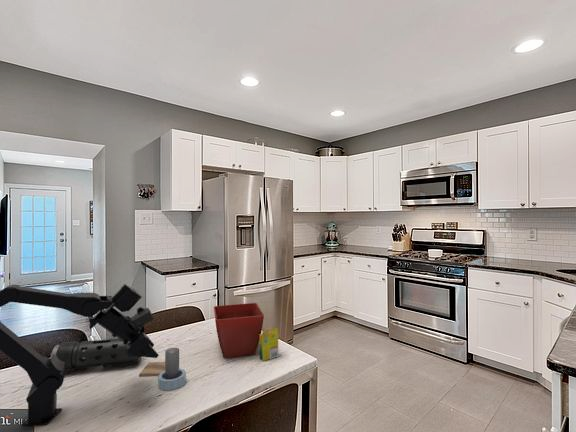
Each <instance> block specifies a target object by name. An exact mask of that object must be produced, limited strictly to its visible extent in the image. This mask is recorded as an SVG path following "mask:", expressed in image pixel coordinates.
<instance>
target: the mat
mask: <svg viewBox="0 0 576 432" xmlns="http://www.w3.org/2000/svg"><path fill="white" fill-rule="evenodd" d="M164 371H165V361H149V362H148V363H147V364H146V365H145V366H144V368H143V369H142V370H141V372H140V373H139V374H138V377H158V376H159V375H160V373H162V372H164Z"/></svg>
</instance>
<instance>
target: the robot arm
mask: <svg viewBox="0 0 576 432" xmlns="http://www.w3.org/2000/svg"><path fill="white" fill-rule="evenodd" d="M142 298H143V296H142V295H141V293H140V292H138V291H137V290H136V289H135V288H132V287H130V285H127V284H126V283H123V285H122V286H121V287H120V288H119V290H117V292H116V293H115V294H113V295H100V294H98V293H96V292H74V293H73V292H72V293H66V292H60V291H55V290H53V291H52V290H46V289H40V288H33V287H27V286H21V285H18V284H10V285H8V286H6V287H4V288H3V289H1V290H0V308H2V307H3V306H6V305H7V304H10V303H17V304H23V305H33V306H39V307H47V308H55V309H62V310H65V311H68V312H70V313H72V314H76V315H78V316H82V317H86V318H87V317H88V322H89V329H93V328H94V327H95V326H96V325H99V326H100V327H102V328H103V329H105V330H106V331H107V332H110V334H111V336H112V338H119V339H120V340H122V341H123V344H125V345H126V344H127V343H128V342H130V343H129V344H128V345H127V354H128V355H129V356H131V357H132V358H133V357H141V358H152V359H157V358H158V357H159V353H158V352H157V351H156V350H155V349H154V346H155V344H154V342H153V341H152V340H151V339H150V337H149V336H148V335H147V334H146V333H145V325H146V324H148V323H150V322H153V321H154V320H155V317H154V316H153V313H152V312H151V310H150V308H148V307H146V308H144V307H143V306H139V307H138V308H136V313H135V314H134V315H133V316H129V315H124V314H123V313H124V312H125V313H126V312H130V310H131V309H132V308H133V307H134V306H135V305H136V304H137V303H138V302H139V301H140V300H141V299H142ZM114 307H115V308H114ZM0 352H1V353H3V354H4V355H5V356H6V357H8V359H10V360H11V361H13V363H15V364H16V365H18V366H19V367H20V368H21V369H22V370H23V371H25V372H26V373H27V375H28V377H29V379H30V381H31V387H30V388H29V392H28V394H27V396H26V399H25V400H26V403H27V419H25V420H24V421H23V422H22V423H21V426H22V427H25V426H27V427H29V426H45V425H48V424H49V423H50V422H52V421H53V420H54V419H55V418H56V417H57V415H58V414H60V413H61V412H62V411H63V408H61V407H60V408H57V405H58V404H57V401H58V400H57V398H58V394H57V391H58V390H59V389H60V388H61V387H62V386H63V384H64V381H65V376H66V371H67V370H66V368H65V366H64V363H65V362H63V361H61V360H59V359H58V358H57V356H56V355H55V354H53V355H52V356H51V355H50V357H47V356H44V355H41V354H40V353H39V352H38V351H37V350H36V349H35V348H33V347H32V346H30V345H29V343H27V342H26V341H24V340H23V339H22V338H21V337H19V335H17V334H16V333H15V332H14V331H12V330H11V329H10V328H9V327H7V325H5V324H4V323H3V322H2V321H1V320H0Z"/></svg>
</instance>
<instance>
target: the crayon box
mask: <svg viewBox="0 0 576 432" xmlns="http://www.w3.org/2000/svg"><path fill="white" fill-rule="evenodd" d="M258 347H259V360H260V361H262V362H265V361H268V359H269V360H272V359H275V357H276V358H278V357H279V327H275V328H271V329H266V330H263V331H261V334H259V343H258ZM277 356H278V357H277Z"/></svg>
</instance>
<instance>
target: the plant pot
mask: <svg viewBox="0 0 576 432" xmlns="http://www.w3.org/2000/svg"><path fill="white" fill-rule="evenodd" d="M213 313H214V319H215V320H214V321H215V322H214V323H215V327H216V329H215V330H216V333H217V339H218V343H219V347H220V351H221V354H222V357H223V358H224V359H228V358H235V357H236V358H237V357H242V356H243V357H244V356H252V355H255V354H256V353H257V351H258V350H257V349H258V347H259V334H262V330H263V325H264V318H265V314H264V313H263V311H262V310H261V308H260V307H259V305H258V303H257V302H248V303H237V304H236V303H235V304H226V305H225V304H224V305H223V304H222V305H214V306H213Z"/></svg>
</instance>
